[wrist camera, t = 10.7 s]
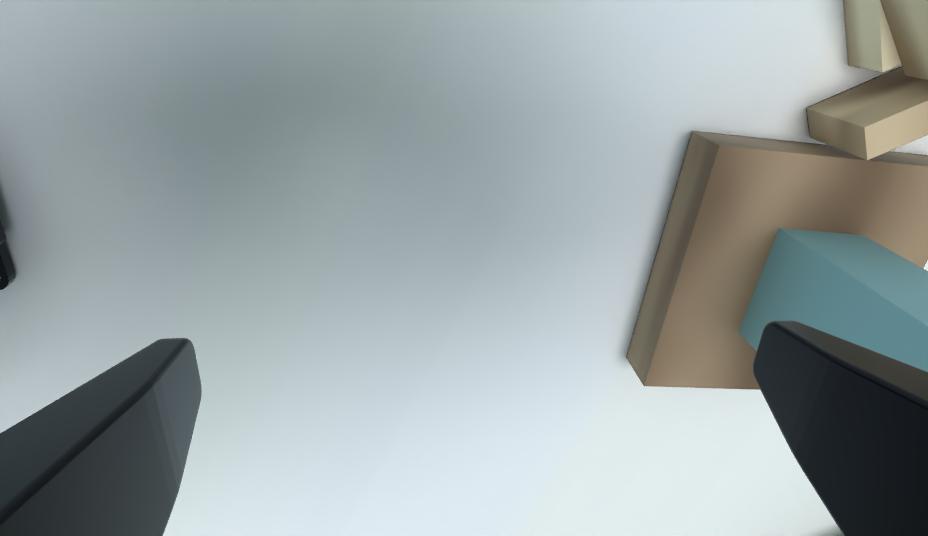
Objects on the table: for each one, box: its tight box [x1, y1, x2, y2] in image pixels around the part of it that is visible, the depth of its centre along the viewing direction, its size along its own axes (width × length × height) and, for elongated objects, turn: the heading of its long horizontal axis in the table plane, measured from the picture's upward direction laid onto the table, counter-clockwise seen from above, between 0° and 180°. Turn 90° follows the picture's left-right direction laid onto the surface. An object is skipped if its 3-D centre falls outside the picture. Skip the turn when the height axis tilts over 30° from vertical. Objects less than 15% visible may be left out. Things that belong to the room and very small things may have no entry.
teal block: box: [739, 228, 928, 372], centre depth 18 cm, size 4×4×10 cm
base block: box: [626, 131, 928, 389], centre depth 24 cm, size 10×10×2 cm
